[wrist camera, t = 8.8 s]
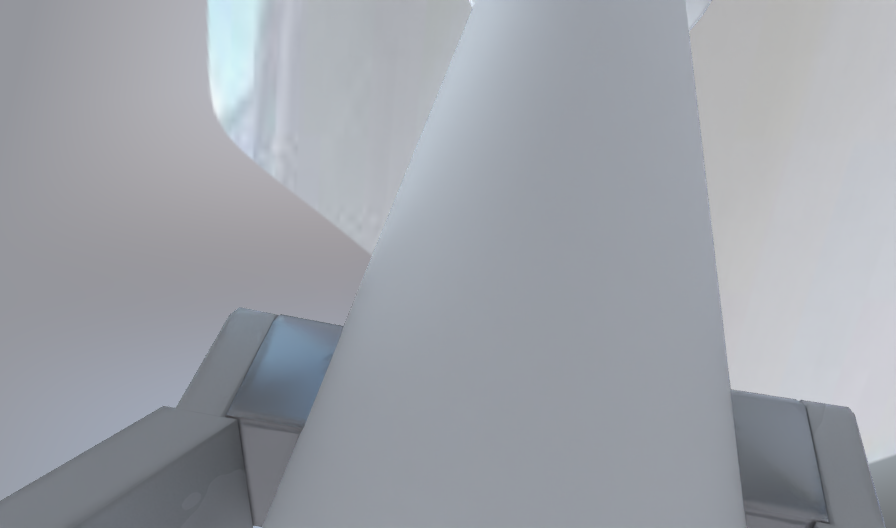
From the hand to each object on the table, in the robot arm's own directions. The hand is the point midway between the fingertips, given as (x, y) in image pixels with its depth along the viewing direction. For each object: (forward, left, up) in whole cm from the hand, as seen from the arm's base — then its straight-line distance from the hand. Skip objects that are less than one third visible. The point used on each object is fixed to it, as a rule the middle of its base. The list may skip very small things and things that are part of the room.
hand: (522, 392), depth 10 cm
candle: (0, 0, -17) cm, 17 cm away
